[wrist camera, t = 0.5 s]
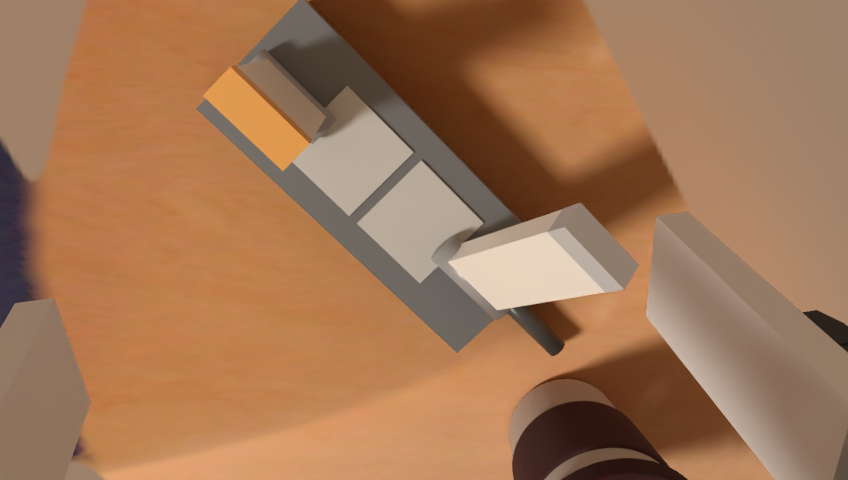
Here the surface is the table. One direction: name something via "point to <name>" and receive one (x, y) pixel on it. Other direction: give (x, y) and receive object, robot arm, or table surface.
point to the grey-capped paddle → (537, 262)
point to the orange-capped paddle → (270, 108)
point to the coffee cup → (579, 438)
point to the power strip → (382, 179)
